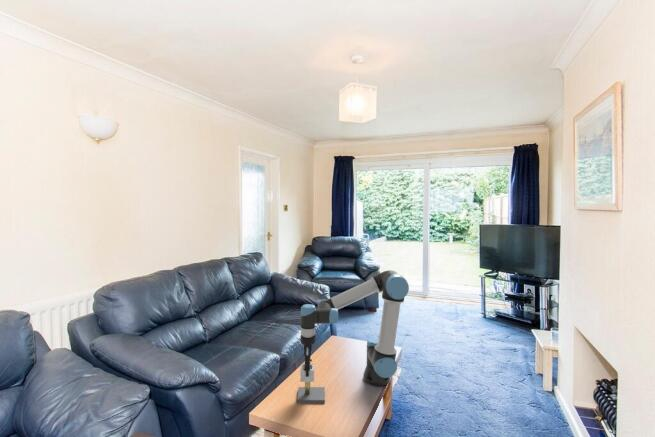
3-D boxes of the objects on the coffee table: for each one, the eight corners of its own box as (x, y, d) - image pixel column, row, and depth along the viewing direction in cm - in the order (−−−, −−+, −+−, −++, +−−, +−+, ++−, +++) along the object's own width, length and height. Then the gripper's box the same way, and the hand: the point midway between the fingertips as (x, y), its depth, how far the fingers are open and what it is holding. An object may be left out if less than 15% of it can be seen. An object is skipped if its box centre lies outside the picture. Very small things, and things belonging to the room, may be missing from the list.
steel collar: (314, 374, 182) (314, 363, 181) (314, 381, 175) (314, 370, 174) (301, 374, 182) (301, 363, 181) (300, 381, 175) (300, 370, 174)
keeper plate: (324, 389, 185) (324, 387, 185) (324, 402, 173) (324, 400, 173) (298, 389, 185) (298, 387, 184) (297, 402, 173) (297, 400, 172)
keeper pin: (310, 391, 180) (310, 375, 179) (310, 394, 177) (310, 378, 177) (305, 391, 180) (305, 375, 179) (304, 394, 177) (304, 378, 177)
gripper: (301, 327, 187) (301, 368, 188) (299, 342, 167) (299, 388, 168) (315, 327, 187) (315, 368, 188) (314, 342, 167) (314, 388, 168)
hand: (307, 377), depth 178 cm, fingers closed on steel collar, 7 cm apart
